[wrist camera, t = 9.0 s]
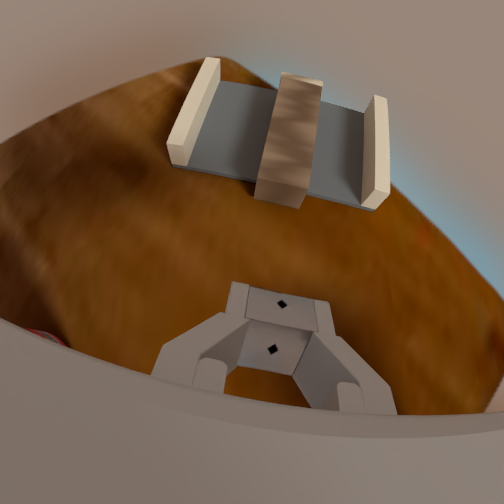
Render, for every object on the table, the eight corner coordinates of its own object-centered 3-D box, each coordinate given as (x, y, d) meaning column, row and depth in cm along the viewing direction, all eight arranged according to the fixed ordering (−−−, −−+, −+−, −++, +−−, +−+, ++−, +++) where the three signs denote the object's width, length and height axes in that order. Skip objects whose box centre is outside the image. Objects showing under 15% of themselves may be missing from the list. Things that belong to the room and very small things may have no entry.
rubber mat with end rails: (172, 166, 32) (166, 143, 28) (207, 82, 36) (206, 56, 32) (372, 211, 32) (389, 194, 28) (374, 120, 36) (386, 98, 32)
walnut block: (256, 177, 27) (282, 71, 31) (253, 198, 31) (277, 96, 35) (309, 189, 27) (322, 81, 31) (299, 209, 31) (314, 105, 35)
